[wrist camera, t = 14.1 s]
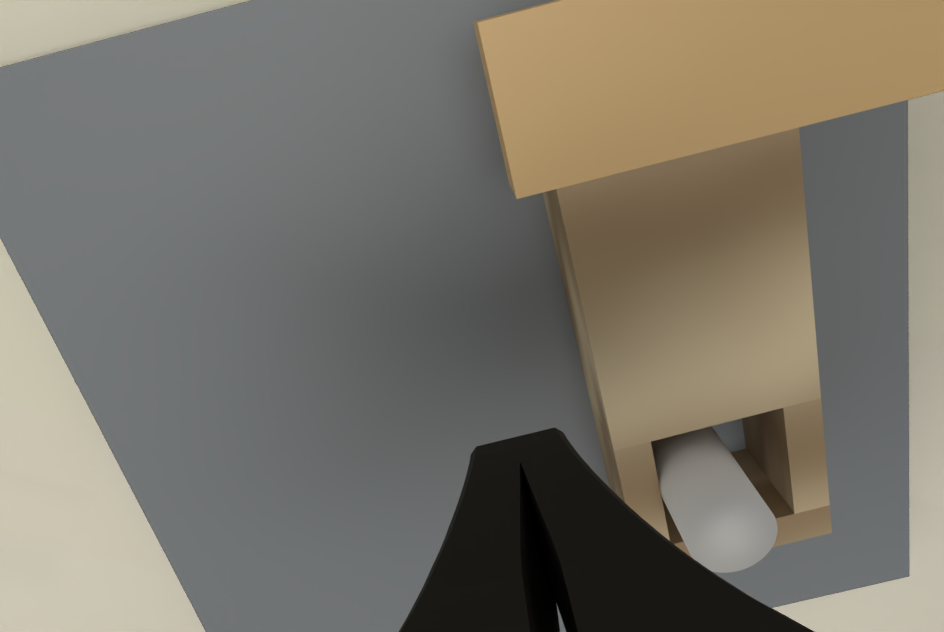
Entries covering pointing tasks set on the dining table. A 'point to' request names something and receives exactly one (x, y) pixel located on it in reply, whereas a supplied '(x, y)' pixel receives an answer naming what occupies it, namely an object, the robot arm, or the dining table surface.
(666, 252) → the oak link
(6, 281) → the dining table surface
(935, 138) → the dining table surface
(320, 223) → the slate board
